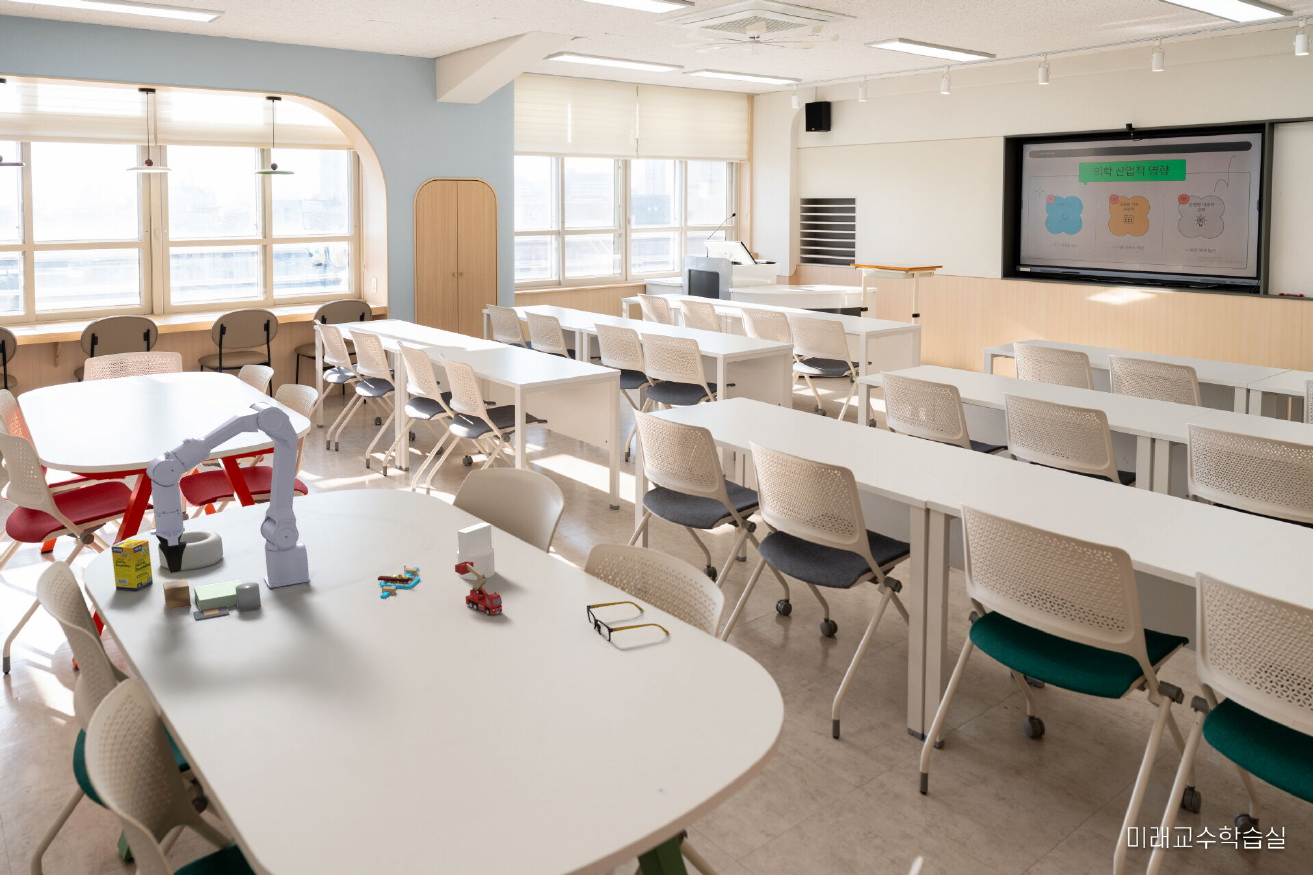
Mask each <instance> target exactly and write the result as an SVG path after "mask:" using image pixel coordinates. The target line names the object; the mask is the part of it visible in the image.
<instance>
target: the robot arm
mask: <svg viewBox="0 0 1313 875" xmlns="http://www.w3.org/2000/svg"><path fill="white" fill-rule="evenodd" d="M259 431H262V432H263V433H265V435H266V436H268V438H270V440H272V442H274V445H273V446H274V447H273V458H272V459H273V460H272V468H271V469H272V470H271V471H272V472H271V473H272V474H271V485H270V497H269V506H268V508H267V509H266V511H265V514H264V515H265V516H264V519H263V521H262V523H261V525H260V529H259V530H260V534H261V537H263V538H264V539H265V544H264V552H265V554H264V555H265V563H266V572H267V573H266V576H264V577H263V579H264V582H265V583H266V585H267V587H268V588H269V589H271V588H272V589H273V588H278V587H284V586H291V585H297V584H304V583H307V582H308V583H309V582H310V573H309V562H308V561H309V560H308V552H307V548H306V544H305V543H304V542H299V543H297V542H298V541H299V536H300V535H299V534H300V533H299V530H298V528H297V518H296V515H295V512H294V510H293V509H294V508H293V506H294V493H295V481H296V468H297V467H296V466H297V459H298V458H297V457H298V456H297V455H298V444H299V443H298V442H299V436H298V434H297V432H296V430H295V428H294V426H293V424H292V422H291V420H290V416H289V415H288V414H287V413H286V412H284V411H283V409H281V408H279V407H276V406H272V405H271V404H269V403H266V402H264V401H256V402H254V403H251V405H249V406H247V407H244V408H242V409H241V410H240V411H239V412H237V413H236V414H235V415H233V416H232V417H230V418H229V419H227V420H226V421H224V422H223V423H221V424H220V425H219V426H217V427H216V428H214V429H213V430H212V431H210V432H209V433H207V434H206V435H204V436H202V437H195V436H194V437H191V438H188V437H186V438H184V439H183V440H182V443H181V444H179V445H178V446H176V447H175V448H174V449H172V450H170V451H168V450H167V451H165V452H163V456H158V457H155V458H153V459H152V460H151V461H150V462H149V464H148V465H147V469H146V470H145V472H146V475H147V476H148V477H149V479H151V480H150V481H151V497H152V505H153V513H154V523H155V524H154V525H155V529H150V531H149V532H150V535H151V536H155V537H156V538H157V540H158V541H159V543H161V544H159V543H158V545H159V548H160V549H161V551H162V552H163V554H164V556H165V558H166V561H167V564H168V568H169V569H168V571H169V572H170V574H176V573H181V571H182V570H181V566H182V557H183V552H184V550H185V547H186V545H187V543H186V541H185V542H180V539H181V536H182V534H183V532H186V531H185V530H186V528H185V526H184V517H183V509H182V508H183V507H182V500H181V490H180V486H179V485H180V484H179V481H180V479H181V477H182V476H183V474H185V473H187V472H188V471H190V470H191V469H193V468H195V467H197V466H198V465H200V464H201V463H203V462H204V461H206V460H208V459H209V458H210V454H211V451H212V450H213V449H216V448H217V447H218V446H220V445H223V444H224V443H226V442H227V441H229V440H231V439H233V438H235V437H237V436H238V435H239V434H242V433H258V432H259Z"/></svg>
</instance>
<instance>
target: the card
mask: <svg viewBox="0 0 1313 875" xmlns="http://www.w3.org/2000/svg"><path fill="white" fill-rule="evenodd" d="M192 613H193V617H194V619H195V621H200V620H207V619H212V618H217V617H222V616H223V617H225V616H229V615H230V612H229V609H228V606H224V607H218V608H212V609H207V610H201V611H200V610H196V611H193V612H192Z"/></svg>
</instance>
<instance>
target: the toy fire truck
mask: <svg viewBox="0 0 1313 875" xmlns="http://www.w3.org/2000/svg"><path fill="white" fill-rule="evenodd" d="M473 567H474V563H473V562H469V561H467V562H463V563H460V564H458V563H457V564H455V565H454V572H455V573H457V574H458V573H459V574H461V575H464V574H467V573H470V572H472V573H473V574H474V575H476V576H477V579H476V580H475V582H474V584H473V586H472V589H469V594H468V595H466V596H465V604H466V605H467V606H469V608H471V609H473V610H475V611H478V610H479V611H481V612H484V613H486V614H485V615H487V616H489V615H491V616H492V615H493V616H494V615H498V614H500V613H502V612H503V603H502V602H503V601H502V597H501V595H500V593H498V592H496V591H494V592H493V593H488V592H487V590H486V589H485V588H484V586H485V583H487V581H488V578H486V577H485V575H484V574H481V573H480V572H479V571H477V570H476V569H475V568H473Z"/></svg>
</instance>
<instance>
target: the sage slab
mask: <svg viewBox="0 0 1313 875" xmlns="http://www.w3.org/2000/svg"><path fill="white" fill-rule="evenodd" d="M240 584H242V582H241V580H240V579H234V580H228V581H221V582H216V583H210V584H204V585H198V586H193V592H194V598H195V601H196V603H197V606H198V608H199V611H201V610H207V609H212V608H218V607H224V606H227V607H231V606H237V598H236V589H235V588H236V586H238V585H240Z"/></svg>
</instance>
